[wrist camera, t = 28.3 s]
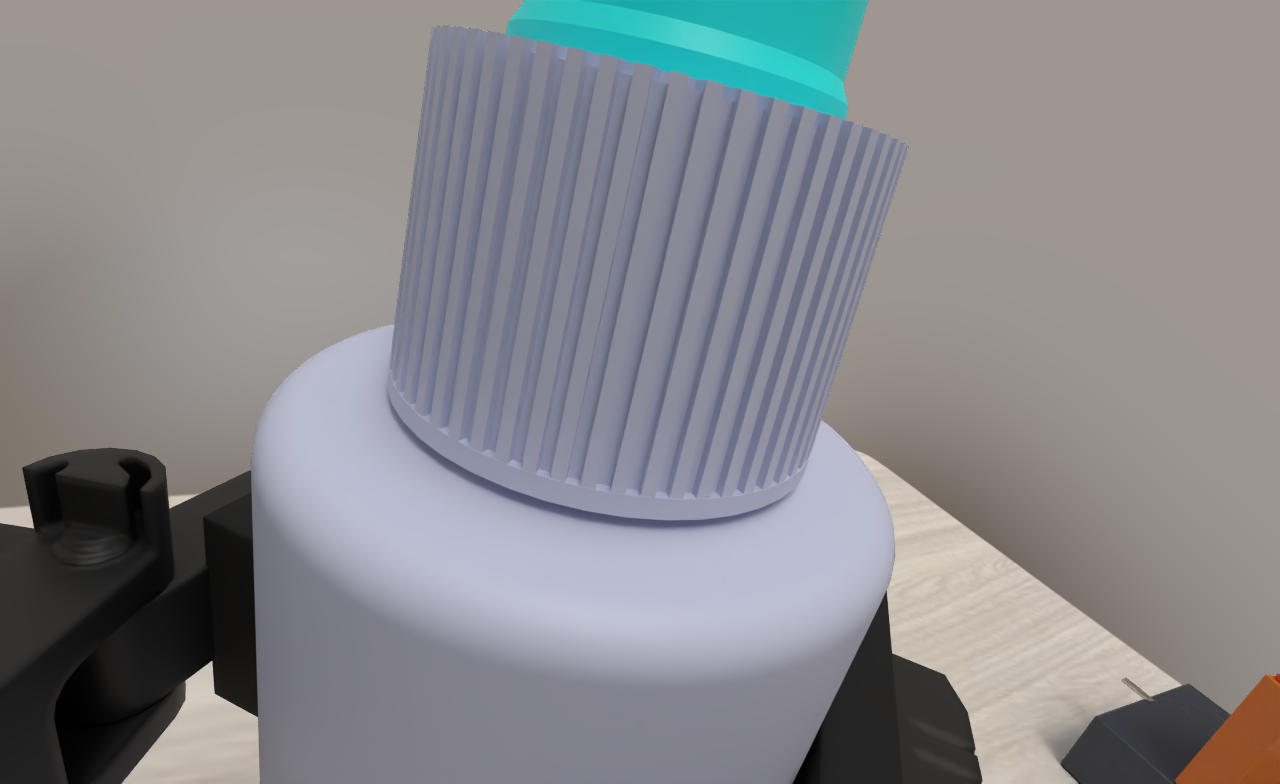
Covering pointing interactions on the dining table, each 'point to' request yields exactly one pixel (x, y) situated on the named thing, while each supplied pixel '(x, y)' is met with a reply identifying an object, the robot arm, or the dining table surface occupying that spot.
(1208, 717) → the dark square tile
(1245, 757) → the orange toy brick
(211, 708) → the dining table surface
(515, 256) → the spray bottle
